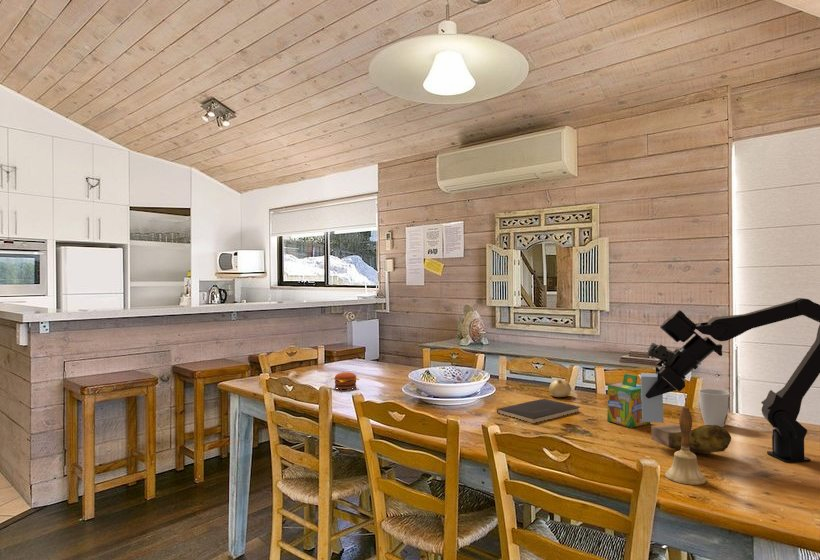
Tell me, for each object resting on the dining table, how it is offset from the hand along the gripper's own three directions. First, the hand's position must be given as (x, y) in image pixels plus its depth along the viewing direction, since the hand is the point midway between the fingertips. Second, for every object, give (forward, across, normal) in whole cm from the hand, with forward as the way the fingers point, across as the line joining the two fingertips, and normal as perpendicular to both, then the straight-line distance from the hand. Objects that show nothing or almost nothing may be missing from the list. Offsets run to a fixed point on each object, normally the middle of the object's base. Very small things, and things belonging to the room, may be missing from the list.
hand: (646, 394), depth 141 cm
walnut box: (+6, -4, +14) cm, 15 cm away
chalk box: (+13, -20, +6) cm, 25 cm away
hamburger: (+89, -38, -73) cm, 121 cm away
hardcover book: (+33, -24, -14) cm, 43 cm away
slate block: (+4, 0, +6) cm, 7 cm away
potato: (+1, +4, +18) cm, 19 cm away
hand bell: (+5, +23, +14) cm, 27 cm away
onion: (+30, -50, -11) cm, 59 cm away
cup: (-4, -26, +23) cm, 35 cm away
